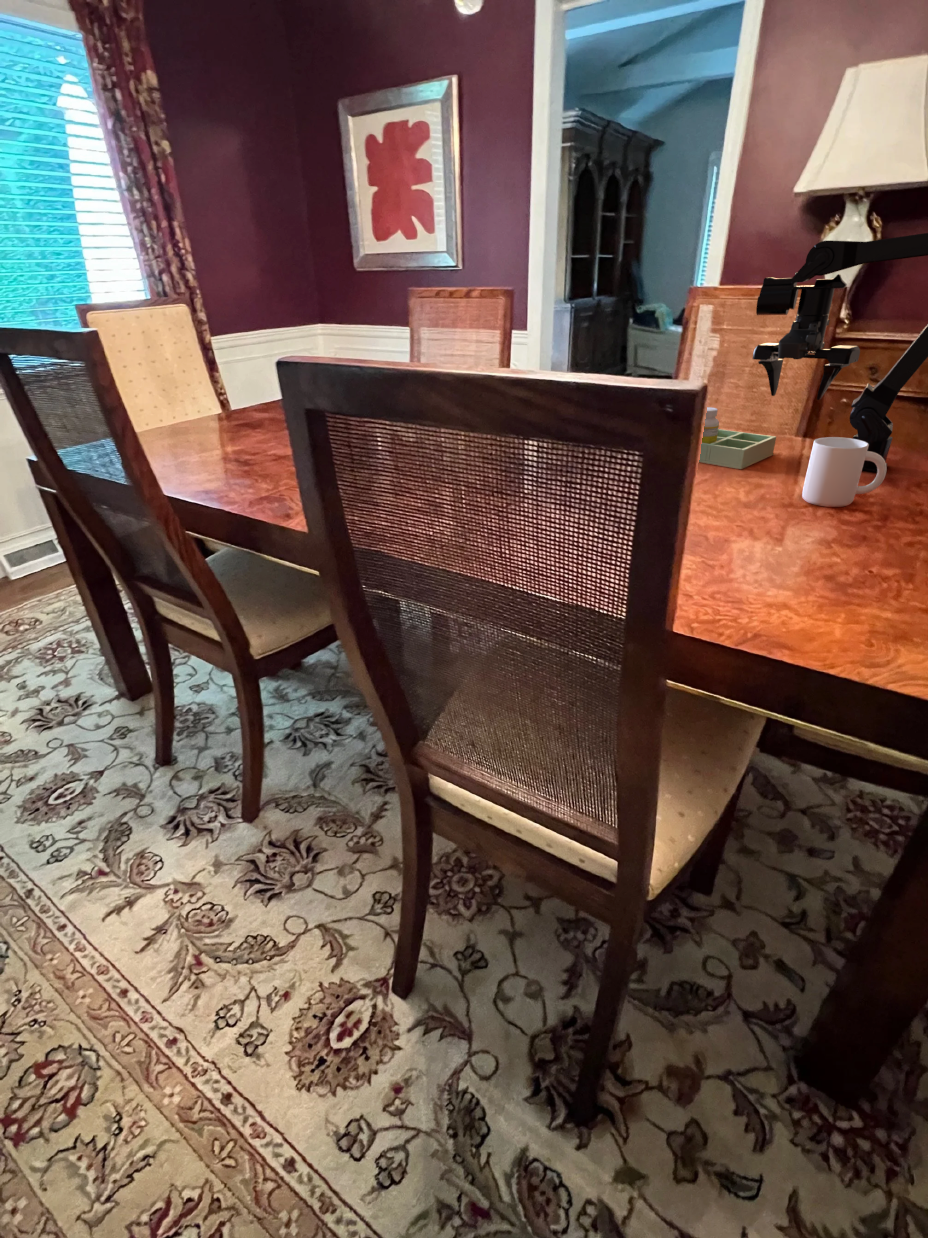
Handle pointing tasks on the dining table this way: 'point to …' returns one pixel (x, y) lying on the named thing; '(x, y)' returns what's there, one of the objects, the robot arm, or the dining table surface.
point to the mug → (839, 471)
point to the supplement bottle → (710, 426)
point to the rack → (737, 449)
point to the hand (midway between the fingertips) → (795, 397)
